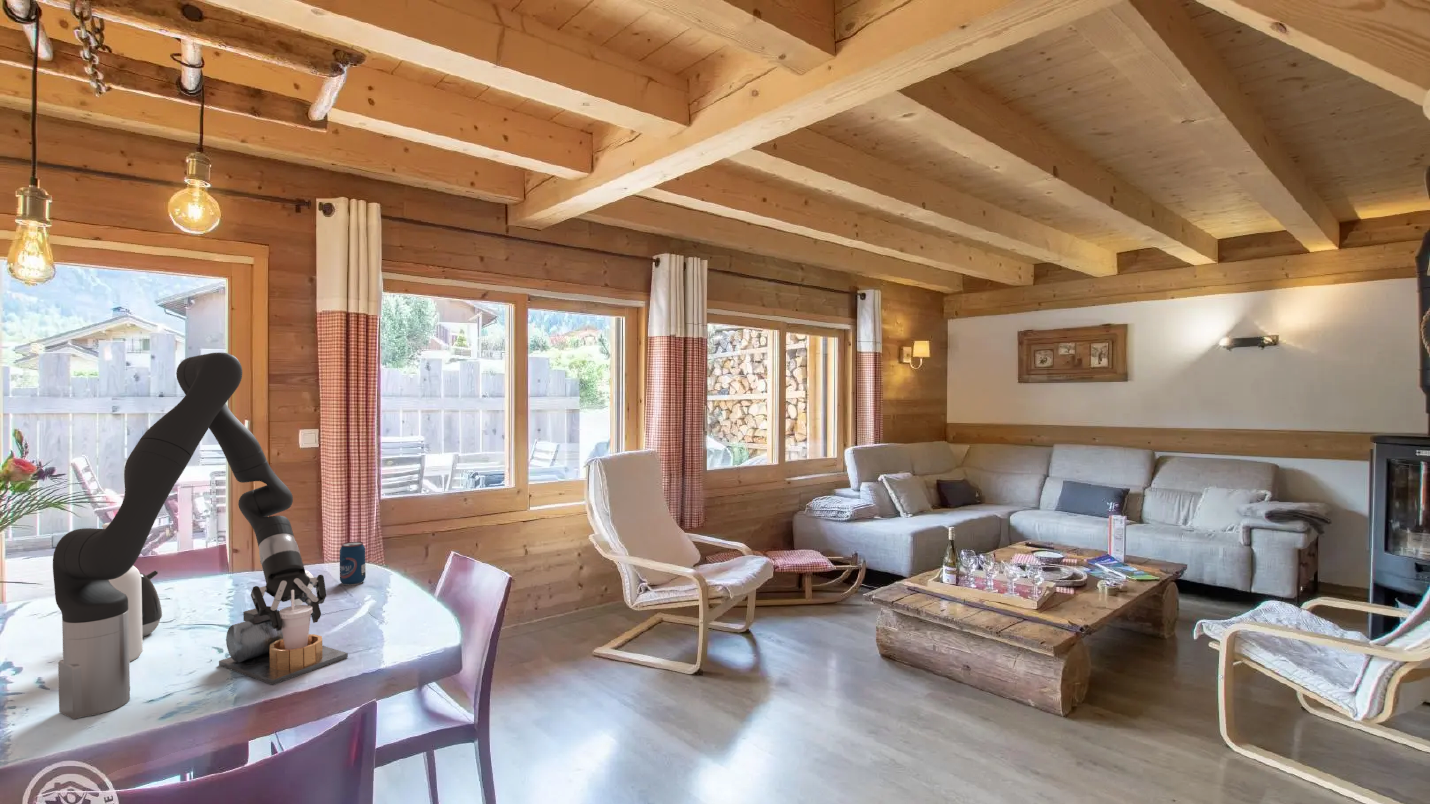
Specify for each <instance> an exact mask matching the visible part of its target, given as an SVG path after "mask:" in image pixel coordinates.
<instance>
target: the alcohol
mask: <svg viewBox="0 0 1430 804" xmlns="http://www.w3.org/2000/svg"><path fill="white" fill-rule="evenodd" d="M110 523H111V521H109V522H105V523H103V524H102V525H101V527H102V529H106V528H107V527H108V525H109V524H110ZM140 573H141V572H140V570H139V569H138V568H137V567H136V566H134V565H133V566H132V567H131V568H130V569H129V570H128V571H127V572H126V573H125V574H124V575H122V576H120V577H118V578H116V579H111V580H109V582H110V583H111V585H112V586H113V587H114V588H116V589H117V590H119V591H120V592H122V593H124V594H125V595H126V596H127V598H128V617H129V663H130V662H133V661H134V660H136V659H138V658H140V656H141V655H142V653H143V651H144V650H143V648H144V647H143V645H144V644H143V643H144V642H143V641H144V640H143V638H144V637H142V582H141V575H140Z"/></svg>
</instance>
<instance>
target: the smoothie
mask: <svg viewBox="0 0 1430 804" xmlns="http://www.w3.org/2000/svg"><path fill="white" fill-rule="evenodd" d="M290 602H291V605H290V606H288V607H284V608H281V609H280V610H279V613H280V617H281V621H282V633H283V639H284V645H285V649H296V648H302V647H305V646H307V643H308V635H309V634H310V633H309V632H310V625H311V619H312V617H311V613H312V612H313V608H312V606H310V605H307V604H301V605H294V590H291V601H290Z"/></svg>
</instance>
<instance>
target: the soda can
mask: <svg viewBox="0 0 1430 804" xmlns="http://www.w3.org/2000/svg"><path fill="white" fill-rule="evenodd" d="M365 580H366V547H365V545H364V542H363V541H347V542H344V543H343V542H342V544H341V546H340V549H339V581H340V583H341V584H342V585H343V586H356V585H359V584H363V582H364V581H365Z"/></svg>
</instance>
